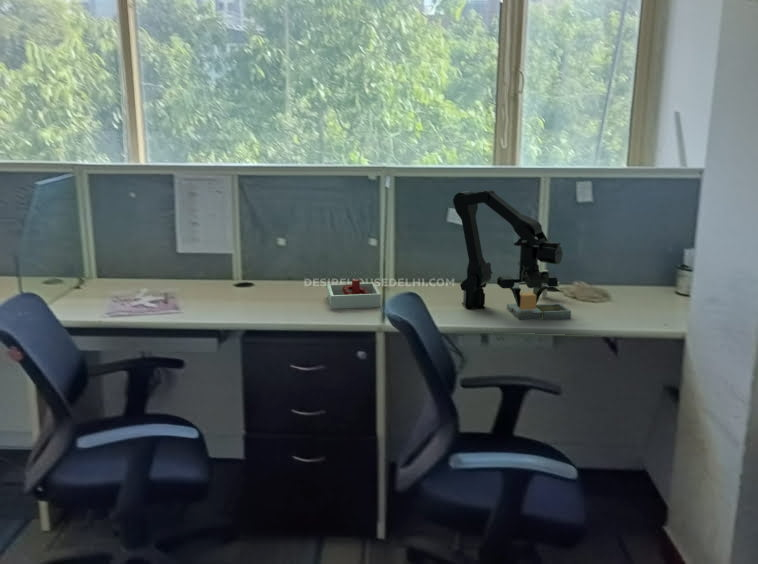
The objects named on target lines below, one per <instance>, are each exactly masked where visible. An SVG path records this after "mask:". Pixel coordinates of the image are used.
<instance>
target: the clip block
mask: <svg viewBox="0 0 758 564" xmlns="http://www.w3.org/2000/svg"><path fill="white" fill-rule="evenodd" d="M536 296H537V295H535V294H534V293H533V291H531V292H529V291H528V292H520V307H519V308H520V309H536ZM517 307H518V306H517Z"/></svg>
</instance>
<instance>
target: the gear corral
mask: <svg viewBox="0 0 758 564" xmlns="http://www.w3.org/2000/svg"><path fill="white" fill-rule="evenodd" d="M346 284H348V285H349V284H351V285H352V283H335V284H334V283H332V284H331V283H329V284H327V285H326V286H327V287H326V289H327V299H328V302H329V303H328V304H329V306H330V310H337V309H341V310H342V309H359V308H360V309H361V308H362V309H364V308H365V309H366V308H381V307H382V306H381V304H382V303H381V301H382V300H381V297H382V296H381V292H380V291H379V289H378V287H377V285H376V283H375V282H360V288H363V289H364V288H366V286H367V288H366V289H365V290H366V291H367V293H370V294H362V293H360V294H354V295H345V294H344V292H343V290H342V289H343V286H344V285H346ZM349 291H350V292H351V293H352V290H351V289H349Z"/></svg>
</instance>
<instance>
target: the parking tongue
mask: <svg viewBox="0 0 758 564" xmlns="http://www.w3.org/2000/svg"><path fill="white" fill-rule="evenodd" d="M513 308H519V307H517V303H511V304H510V303H509V304H508V303H507V304H506V310H507V311H509V312H510V313H511V314H513Z"/></svg>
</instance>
